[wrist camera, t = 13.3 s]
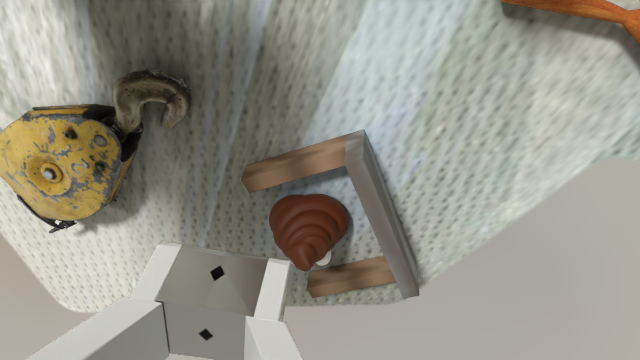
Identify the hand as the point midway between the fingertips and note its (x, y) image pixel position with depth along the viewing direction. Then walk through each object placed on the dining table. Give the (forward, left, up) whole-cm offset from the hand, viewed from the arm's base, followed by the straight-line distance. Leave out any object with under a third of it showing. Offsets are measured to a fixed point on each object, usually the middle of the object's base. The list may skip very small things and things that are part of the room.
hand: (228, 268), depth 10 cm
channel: (+4, -29, -37) cm, 47 cm away
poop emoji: (+1, -29, -37) cm, 47 cm away
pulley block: (-25, -22, -37) cm, 50 cm away
